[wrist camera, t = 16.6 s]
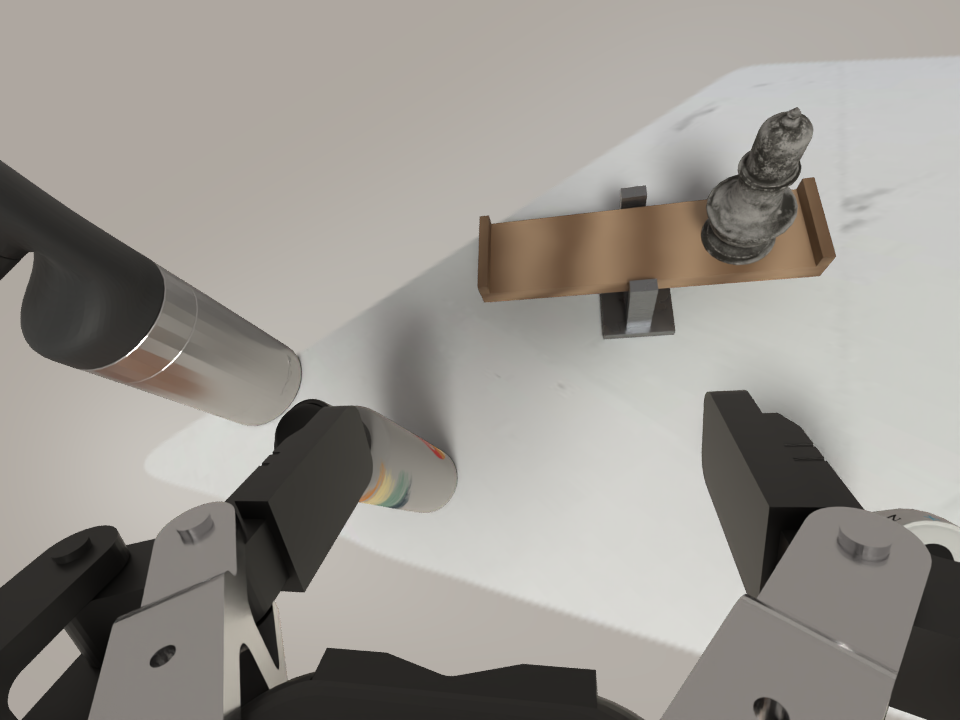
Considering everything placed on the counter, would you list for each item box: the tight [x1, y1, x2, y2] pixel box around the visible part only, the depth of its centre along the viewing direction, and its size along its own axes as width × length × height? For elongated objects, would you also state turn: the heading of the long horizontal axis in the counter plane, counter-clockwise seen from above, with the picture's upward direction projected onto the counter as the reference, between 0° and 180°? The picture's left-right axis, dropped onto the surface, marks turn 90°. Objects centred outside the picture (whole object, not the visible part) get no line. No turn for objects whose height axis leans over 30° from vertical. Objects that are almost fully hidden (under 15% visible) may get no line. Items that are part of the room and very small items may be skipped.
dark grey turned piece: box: [701, 107, 813, 265], centre depth 32 cm, size 6×6×12 cm
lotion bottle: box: [274, 399, 457, 513], centre depth 34 cm, size 6×6×20 cm
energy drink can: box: [873, 509, 960, 562], centre depth 27 cm, size 6×6×15 cm
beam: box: [478, 177, 836, 303], centre depth 39 cm, size 26×7×3 cm, turn 89°
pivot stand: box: [601, 185, 675, 339], centre depth 42 cm, size 6×11×7 cm, turn 179°
